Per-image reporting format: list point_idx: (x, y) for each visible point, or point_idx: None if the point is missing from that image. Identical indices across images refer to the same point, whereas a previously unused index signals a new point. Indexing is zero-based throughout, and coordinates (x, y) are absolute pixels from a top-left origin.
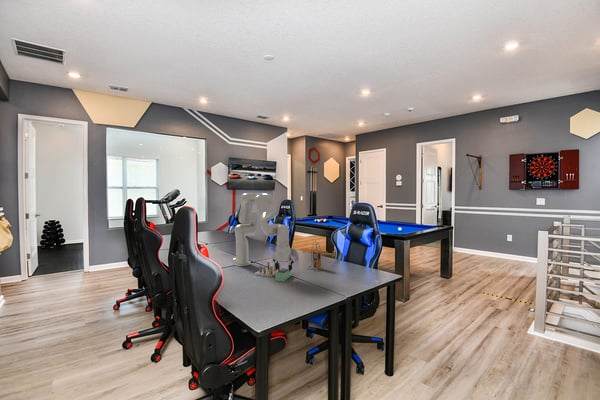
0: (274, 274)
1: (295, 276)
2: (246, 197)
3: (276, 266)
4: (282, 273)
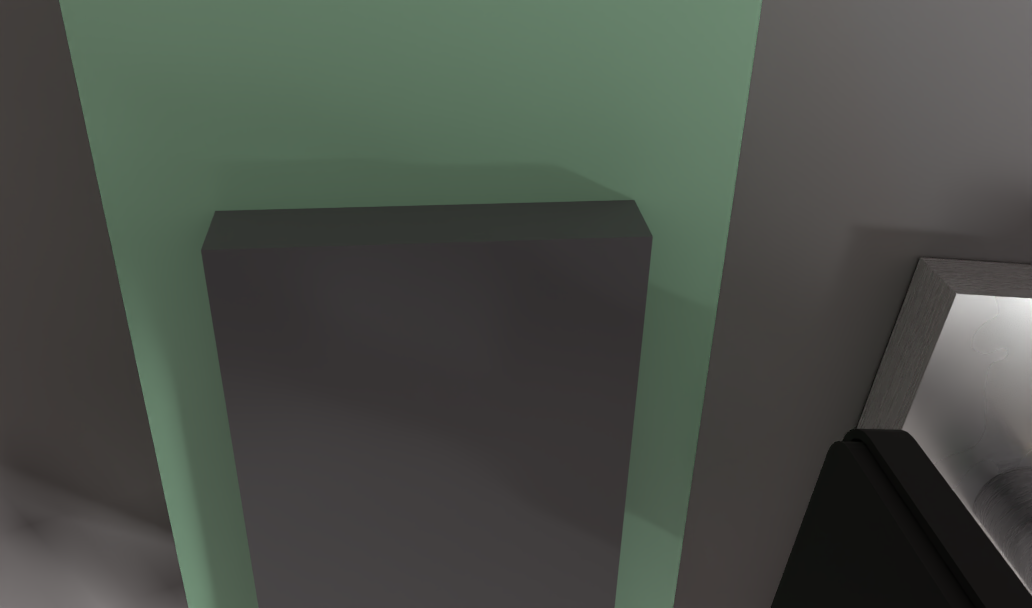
0: None
1: (88, 592)
2: None
3: (938, 579)
4: (211, 8)
